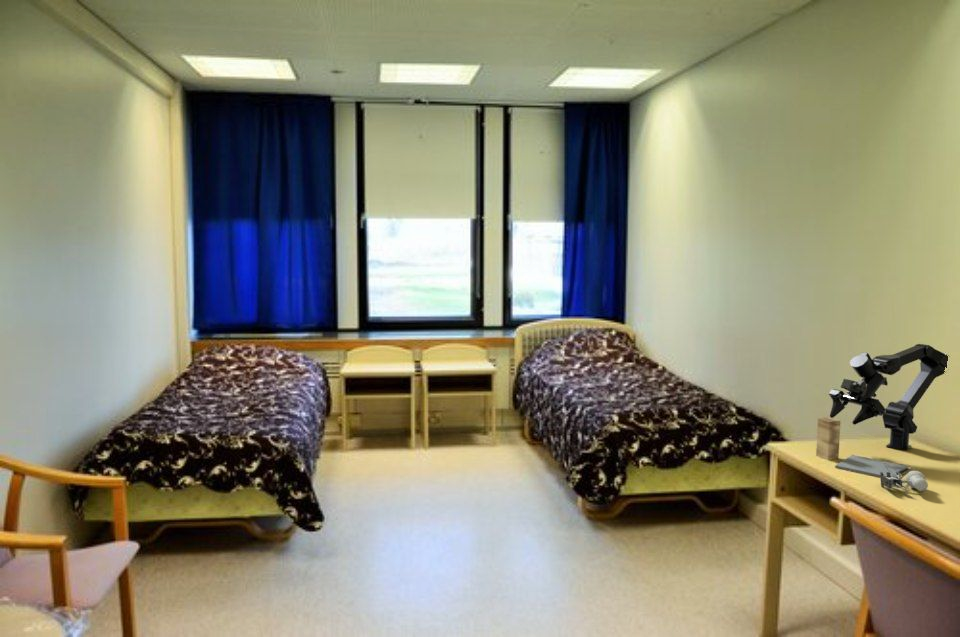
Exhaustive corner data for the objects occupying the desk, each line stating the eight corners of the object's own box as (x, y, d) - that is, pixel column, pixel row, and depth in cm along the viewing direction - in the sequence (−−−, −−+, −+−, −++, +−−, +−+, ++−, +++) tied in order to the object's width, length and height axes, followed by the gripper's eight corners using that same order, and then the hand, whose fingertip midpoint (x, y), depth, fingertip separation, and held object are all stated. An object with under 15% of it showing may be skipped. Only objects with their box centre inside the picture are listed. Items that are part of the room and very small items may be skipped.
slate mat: (852, 457, 235) (852, 454, 234) (909, 468, 222) (909, 466, 222) (835, 467, 223) (835, 465, 223) (894, 480, 211) (894, 478, 211)
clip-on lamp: (875, 480, 216) (885, 493, 200) (874, 459, 217) (883, 471, 200) (919, 481, 212) (932, 495, 195) (918, 461, 212) (931, 472, 196)
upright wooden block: (826, 454, 238) (828, 417, 236) (838, 458, 233) (840, 420, 232) (816, 455, 236) (818, 418, 235) (827, 459, 232) (829, 421, 230)
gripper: (834, 366, 244) (808, 399, 241) (881, 375, 227) (853, 411, 224) (849, 386, 248) (824, 419, 245) (897, 397, 230) (870, 433, 228)
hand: (841, 420), depth 235 cm, fingers open, 9 cm apart
